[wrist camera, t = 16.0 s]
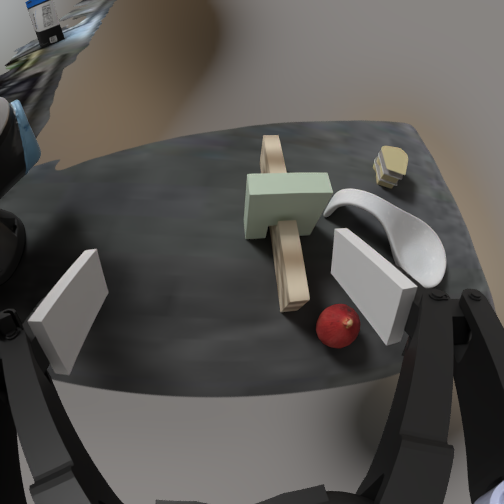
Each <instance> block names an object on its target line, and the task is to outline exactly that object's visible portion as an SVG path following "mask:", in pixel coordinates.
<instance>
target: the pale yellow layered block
mask: <svg viewBox="0 0 504 504" xmlns="http://www.w3.org/2000/svg"><path fill="white" fill-rule="evenodd" d="M378 156H379V157H376V158H375V160H374V162H375V163H374V165H373V169H374V170H375V171H376V178H377V184H378V185H382V186H385V187H388V188H391V189H392V187H393V186H394V185H395V186H397V184H398V180H399V179H400V180H402V177H403V175H405V173H406V168H407V163H408V156H407V154H406V153H405V152H404V151H403V150H402V149H401V148H397V147H390V146H383V147H382V149H381V151H379V153H378Z"/></svg>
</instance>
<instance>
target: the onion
mask: <svg viewBox="0 0 504 504" xmlns="http://www.w3.org/2000/svg"><path fill="white" fill-rule="evenodd" d="M359 331H360V319H359V316H358V314H357V313H356V312H355V310H354V309H352V308H351V307H349V306H347V305H345V304H334V305H332V306H330V307H327V308H326V309H325V310H324V311H323V312H322V313H321V314H320V316H319V318H318V320H317V322H316V332H317V335H318V338H319V339H320V340H321V342H322V343H323V344H325V345H327V346H329V347H332V348H342V347H345V346H348V345H350V344H351V343H352V342H353V341H354V340H355V339H356V338H357V336H358V333H359Z"/></svg>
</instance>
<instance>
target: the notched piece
mask: <svg viewBox="0 0 504 504" xmlns="http://www.w3.org/2000/svg"><path fill="white" fill-rule="evenodd" d="M332 194H333V191H332V187H331V184H330V180H329V177H328V174H327V173H263V174H247V185H246V198H245V212H244V229H245V239H257V238H266V233H267V229H268V226H274V225H277V223H278V221H289V220H296V222H297V227H298V232H299V236H305V235H310V234H311V232H312V230H313V229H314V227H315V225H316V223H317V221H318V219H319V218H320V216H321V214H322V212H323V210H324V208H325V207H326V205H327V203H328V201H329V199H330V197H331V195H332Z"/></svg>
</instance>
